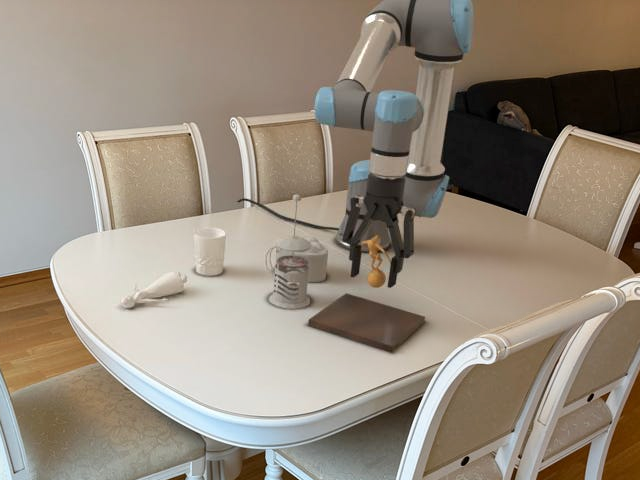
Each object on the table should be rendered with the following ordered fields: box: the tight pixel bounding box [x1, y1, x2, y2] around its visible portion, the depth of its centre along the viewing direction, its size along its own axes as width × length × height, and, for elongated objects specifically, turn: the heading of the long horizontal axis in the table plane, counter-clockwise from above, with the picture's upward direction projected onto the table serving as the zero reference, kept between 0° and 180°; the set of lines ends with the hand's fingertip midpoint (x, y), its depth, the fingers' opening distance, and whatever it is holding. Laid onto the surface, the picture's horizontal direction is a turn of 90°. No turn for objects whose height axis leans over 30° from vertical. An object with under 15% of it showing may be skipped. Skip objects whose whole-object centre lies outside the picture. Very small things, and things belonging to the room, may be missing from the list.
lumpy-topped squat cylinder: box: [274, 235, 329, 283], centre depth 177 cm, size 10×13×9 cm
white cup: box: [192, 227, 227, 277], centre depth 174 cm, size 8×8×10 cm
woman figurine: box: [120, 271, 188, 309], centre depth 159 cm, size 12×4×18 cm
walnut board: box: [307, 293, 426, 353], centre depth 155 cm, size 20×18×2 cm
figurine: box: [361, 235, 391, 289], centre depth 148 cm, size 8×6×12 cm
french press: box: [265, 194, 312, 310], centre depth 158 cm, size 10×12×25 cm
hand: (372, 280), depth 150 cm, fingers closed on figurine, 8 cm apart
